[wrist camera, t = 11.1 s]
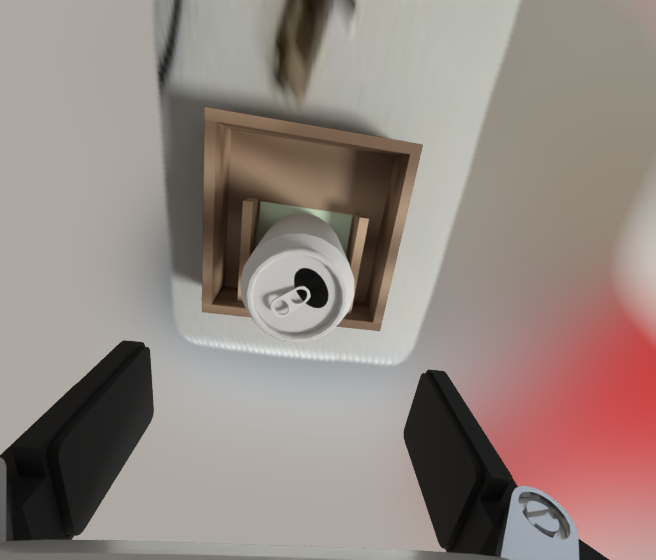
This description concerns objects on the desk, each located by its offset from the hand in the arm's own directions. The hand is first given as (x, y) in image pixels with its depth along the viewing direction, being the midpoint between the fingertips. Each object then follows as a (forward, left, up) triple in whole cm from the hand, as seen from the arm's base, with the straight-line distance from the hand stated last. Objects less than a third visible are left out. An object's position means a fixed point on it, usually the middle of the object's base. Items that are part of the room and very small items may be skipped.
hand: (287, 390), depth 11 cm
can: (0, 0, -21) cm, 21 cm away
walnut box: (-2, 0, -21) cm, 21 cm away
